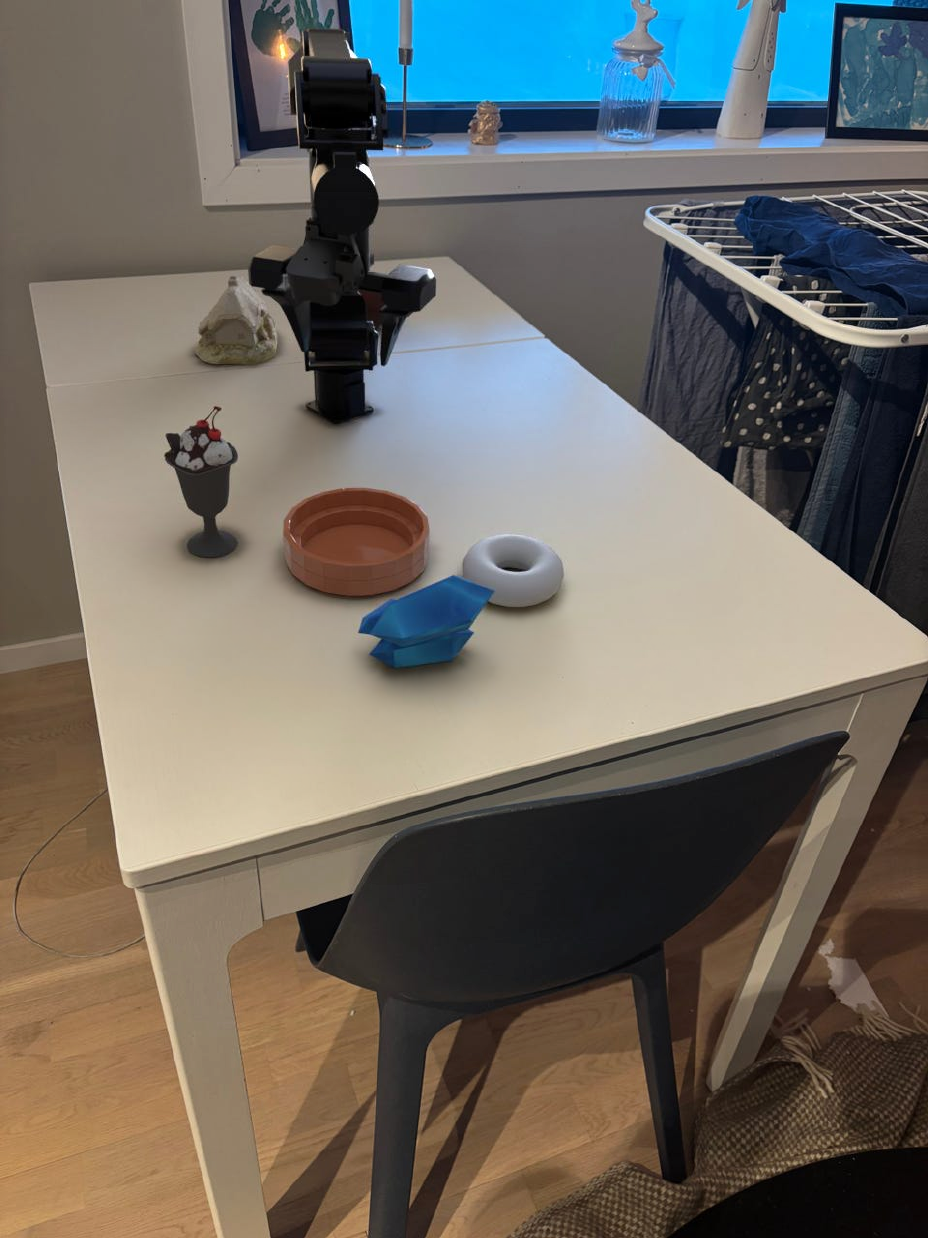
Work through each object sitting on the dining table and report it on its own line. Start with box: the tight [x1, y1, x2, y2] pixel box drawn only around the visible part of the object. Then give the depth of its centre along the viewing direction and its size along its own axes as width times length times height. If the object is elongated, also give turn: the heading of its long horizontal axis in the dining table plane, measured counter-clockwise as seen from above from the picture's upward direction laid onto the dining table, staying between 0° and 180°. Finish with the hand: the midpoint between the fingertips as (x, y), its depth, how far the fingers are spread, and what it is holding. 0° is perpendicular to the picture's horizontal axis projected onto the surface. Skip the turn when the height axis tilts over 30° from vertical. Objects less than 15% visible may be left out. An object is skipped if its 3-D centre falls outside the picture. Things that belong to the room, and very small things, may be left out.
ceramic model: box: [194, 275, 278, 365], centre depth 132 cm, size 14×11×10 cm
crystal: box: [357, 574, 494, 669], centre depth 80 cm, size 7×9×12 cm
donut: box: [461, 533, 565, 608], centre depth 91 cm, size 10×4×10 cm
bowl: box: [282, 487, 431, 597], centre depth 93 cm, size 14×14×4 cm
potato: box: [358, 290, 385, 328], centre depth 142 cm, size 8×9×8 cm
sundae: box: [163, 405, 239, 559], centre depth 90 cm, size 7×7×15 cm
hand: (344, 357), depth 101 cm, fingers open, 9 cm apart
